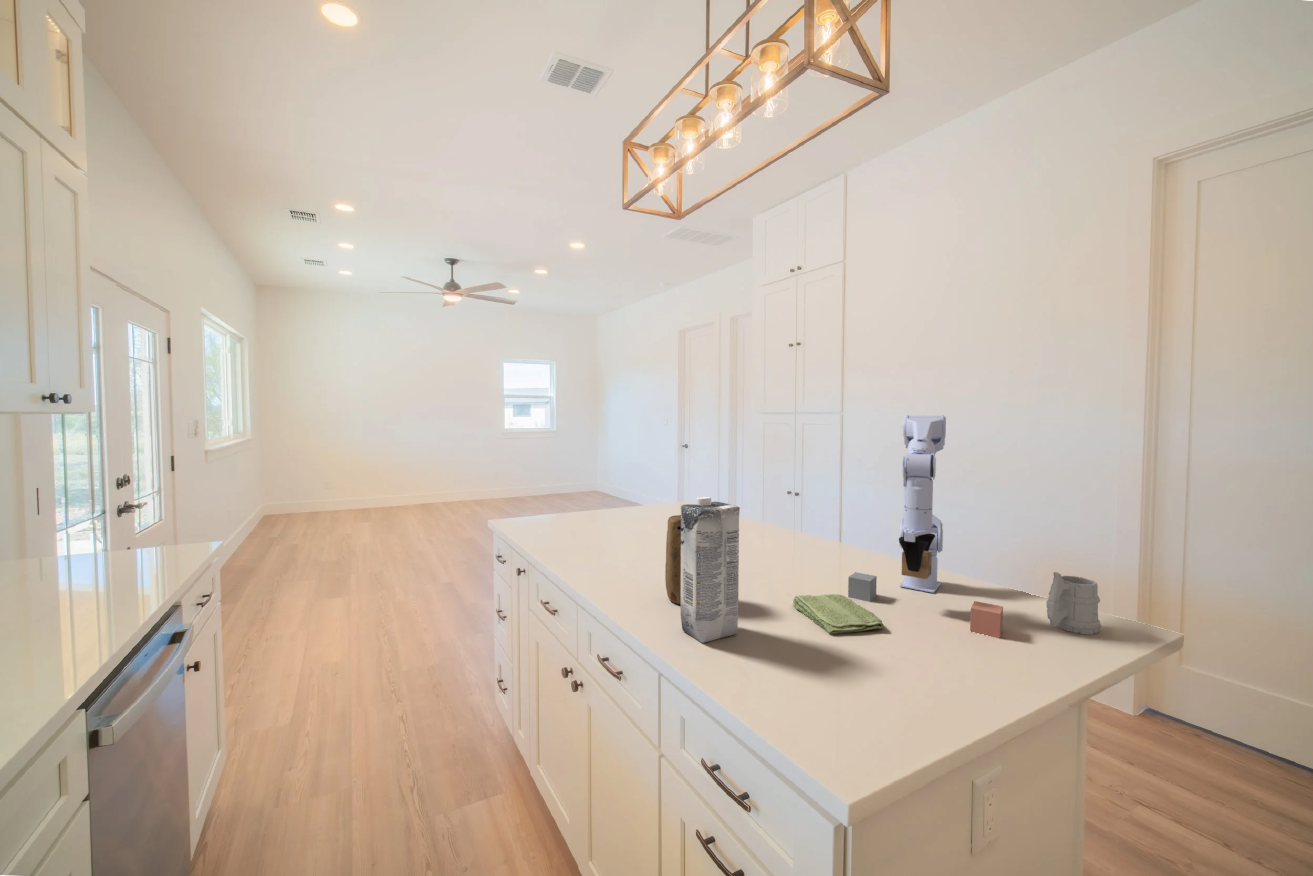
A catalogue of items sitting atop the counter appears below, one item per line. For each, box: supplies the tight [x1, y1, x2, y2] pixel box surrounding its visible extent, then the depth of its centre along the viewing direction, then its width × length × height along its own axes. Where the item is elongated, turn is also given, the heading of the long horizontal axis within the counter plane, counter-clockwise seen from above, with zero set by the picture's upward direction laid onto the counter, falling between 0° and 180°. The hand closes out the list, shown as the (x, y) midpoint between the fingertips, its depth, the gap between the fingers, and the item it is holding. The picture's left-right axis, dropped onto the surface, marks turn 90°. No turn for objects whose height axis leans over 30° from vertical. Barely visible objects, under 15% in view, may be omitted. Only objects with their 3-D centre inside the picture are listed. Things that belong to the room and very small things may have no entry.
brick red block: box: [969, 600, 1004, 639], centre depth 106 cm, size 5×5×5 cm
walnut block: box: [901, 551, 932, 579], centre depth 118 cm, size 5×5×5 cm
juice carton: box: [680, 496, 741, 644], centre depth 104 cm, size 9×10×27 cm
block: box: [664, 514, 681, 605], centre depth 123 cm, size 11×8×20 cm
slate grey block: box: [847, 571, 877, 603], centre depth 126 cm, size 5×5×5 cm
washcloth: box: [792, 593, 884, 635], centre depth 113 cm, size 13×18×3 cm
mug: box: [1045, 571, 1102, 635], centre depth 107 cm, size 8×12×12 cm, turn 108°
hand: (916, 567), depth 118 cm, fingers closed on walnut block, 5 cm apart
